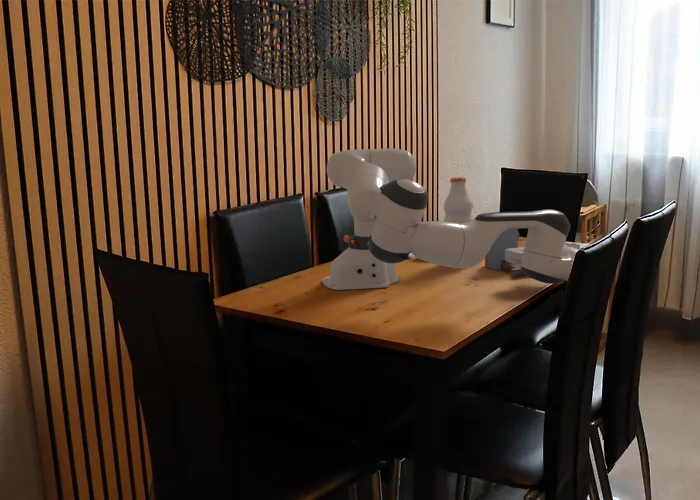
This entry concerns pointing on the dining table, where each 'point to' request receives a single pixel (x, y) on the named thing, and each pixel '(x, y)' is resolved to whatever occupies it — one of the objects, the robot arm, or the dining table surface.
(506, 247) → the block
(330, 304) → the dining table surface
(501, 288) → the dining table surface
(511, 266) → the rail
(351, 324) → the dining table surface
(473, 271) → the dining table surface
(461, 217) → the fruit juice
